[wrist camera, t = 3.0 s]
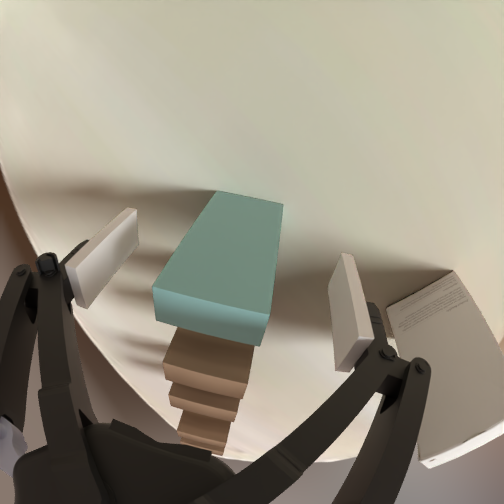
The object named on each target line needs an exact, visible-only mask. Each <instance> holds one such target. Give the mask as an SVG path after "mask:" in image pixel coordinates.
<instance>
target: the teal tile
mask: <svg viewBox="0 0 504 504" xmlns="http://www.w3.org/2000/svg"><path fill="white" fill-rule="evenodd" d="M282 213H283V204H280V203H275V202H270V201H266V200H261V199H256V198H252V197H247V196H242V195H237V194H232V193H227V192H221V191H216V193H215V194H214V195H213V197H212V198H211V199H210V201H209V202H208V204H207V205H206V206H205V208H204V209H203V211H202V212H201V214H200V215H199V216H198V218H197V219H196V221H195V222H194V224H193V225H192V226H191V228H190V229H189V231H188V232H187V234H186V235H185V237H184V238H183V240H182V241H181V243H180V244H179V246H178V247H177V249H176V250H175V252H174V253H173V255H172V256H171V258H170V259H169V261H168V262H167V264H166V265H165V267H164V268H163V270H162V272H161V273H160V275H159V276H158V278H157V279H156V281H155V283H154V284H153V286H152V290H153V300H154V308H155V317H156V321H160V322H163V323H167V324H170V325H173V326H177V327H181V328H184V329H188V330H192V331H195V332H199V333H203V334H207V335H211V336H215V337H219V338H223V339H227V340H232V341H236V342H241V343H245V344H250V345H255V346H260V345H261V342H262V339H263V335H264V332H265V329H266V326H267V323H268V320H269V316H270V311H271V304H272V296H273V288H274V280H275V272H276V264H277V256H278V248H279V239H280V231H281V222H282Z"/></svg>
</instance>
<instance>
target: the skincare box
mask: <svg viewBox="0 0 504 504" xmlns="http://www.w3.org/2000/svg"><path fill="white" fill-rule="evenodd" d="M386 312H387V315H388V318H389V322H390V325H391V328H392V331H393V335H394V338H395V341H396V345H397V348H398V352H399V356H400V358H401V359H404V360H406V361H409V362H411V360H412V359H414V358H415V357H420V358H423V359H425V360H426V361H427V362H428V363H429V365H430V367H431V379H430V385H429V390H428V396H427V401H426V406H425V410H424V415H423V419H422V423H421V427H420V431H419V435H418V438H417V445H418V446H417V447H418V461H420V462H421V463H422V464H424V465H425V466H426V467H427V468H429V469H430V468H433V467H435V466H438V465H440V464H443V463H445V462H448V461H450V460H452V459H455V458H457V457H459V456H462V455H464V454H466V453H468V452H470V451H472V450H474V449H476V448H478V447H480V446H482V445H484V444H486V443H487V442H489V441H491V440H493V439H495V438H496V437H498V436H500V435H502V434H503V433H504V355H503V353H502V351H501V349H500V347H499V345H498V343H497V341H496V339H495V337H494V335H493V333H492V331H491V329H490V328H489V326H488V324H487V322H486V320H485V318H484V317H483V315H482V313H481V311H480V310H479V308H478V306H477V305H476V303H475V301H474V300H473V298H472V296H471V295H470V293H469V292H468V290H467V289H466V287H465V286H464V284H463V283H462V281H461V280H460V278H459V277H458V275H457V274H456V272H455V271H452V272H451V273H449V274H447V275H446V276H444V277H442V278H441V279H439V280H437V281H436V282H434V283H432V284H430V285H429V286H427V287H425V288H423V289H422V290H420V291H418V292H416V293H414V294H412V295H411V296H409V297H407V298H405V299H403V300H401V301H399V302H397V303H395V304H393V305H391V306H389V307H387V309H386Z"/></svg>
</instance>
